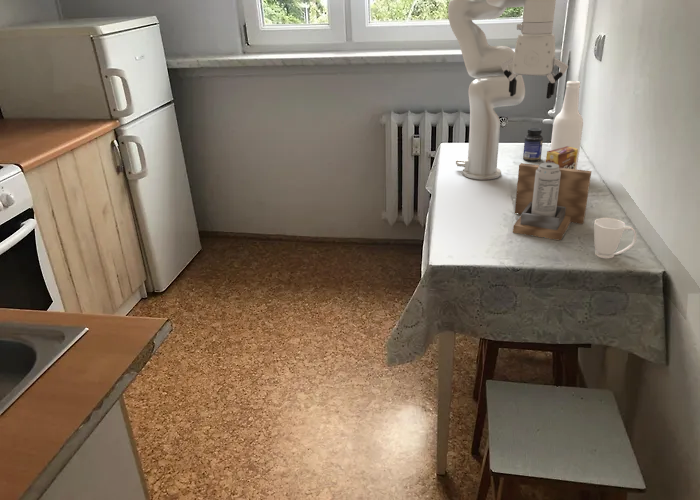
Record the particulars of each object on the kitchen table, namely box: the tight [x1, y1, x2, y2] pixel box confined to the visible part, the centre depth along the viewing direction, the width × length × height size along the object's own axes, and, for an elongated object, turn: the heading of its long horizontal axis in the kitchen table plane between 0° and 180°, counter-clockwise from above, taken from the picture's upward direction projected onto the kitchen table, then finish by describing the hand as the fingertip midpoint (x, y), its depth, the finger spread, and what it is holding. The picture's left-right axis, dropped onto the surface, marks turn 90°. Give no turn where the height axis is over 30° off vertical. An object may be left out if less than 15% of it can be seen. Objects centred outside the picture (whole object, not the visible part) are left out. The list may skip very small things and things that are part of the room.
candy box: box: [545, 146, 578, 169], centre depth 166 cm, size 9×4×15 cm, turn 123°
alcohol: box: [549, 80, 584, 170], centre depth 183 cm, size 9×9×30 cm
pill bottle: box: [522, 127, 544, 163], centre depth 204 cm, size 6×6×11 cm
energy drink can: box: [531, 162, 561, 217], centre depth 148 cm, size 6×6×15 cm
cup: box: [593, 217, 638, 260], centre depth 135 cm, size 7×10×8 cm
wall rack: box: [512, 162, 592, 241], centre depth 150 cm, size 18×15×14 cm
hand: (530, 96), depth 157 cm, fingers open, 9 cm apart
